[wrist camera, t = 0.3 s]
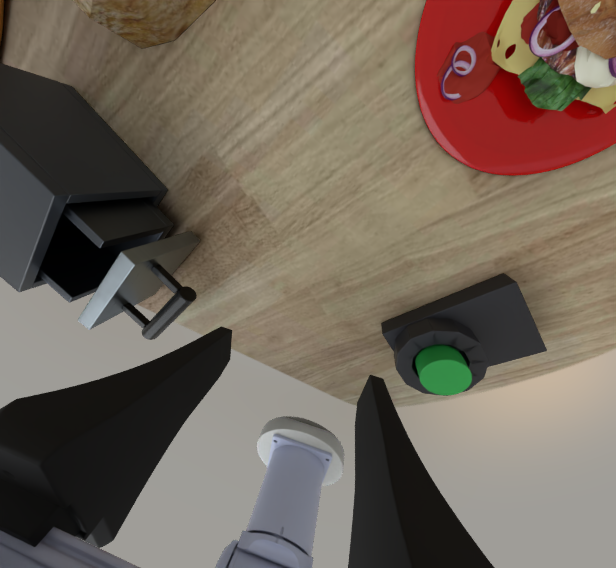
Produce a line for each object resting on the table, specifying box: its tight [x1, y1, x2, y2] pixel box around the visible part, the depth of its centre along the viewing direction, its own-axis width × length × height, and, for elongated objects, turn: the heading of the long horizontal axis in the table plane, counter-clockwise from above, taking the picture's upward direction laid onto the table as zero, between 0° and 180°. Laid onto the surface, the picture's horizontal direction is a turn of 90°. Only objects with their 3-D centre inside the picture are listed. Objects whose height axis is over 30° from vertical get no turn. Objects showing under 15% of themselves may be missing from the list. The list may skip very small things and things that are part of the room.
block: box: [381, 274, 547, 396], centre depth 19 cm, size 10×6×4 cm, turn 125°
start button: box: [415, 344, 472, 395], centre depth 17 cm, size 3×3×2 cm
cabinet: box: [0, 63, 168, 292], centre depth 18 cm, size 11×11×9 cm
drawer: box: [37, 197, 200, 340], centre depth 20 cm, size 13×9×7 cm
